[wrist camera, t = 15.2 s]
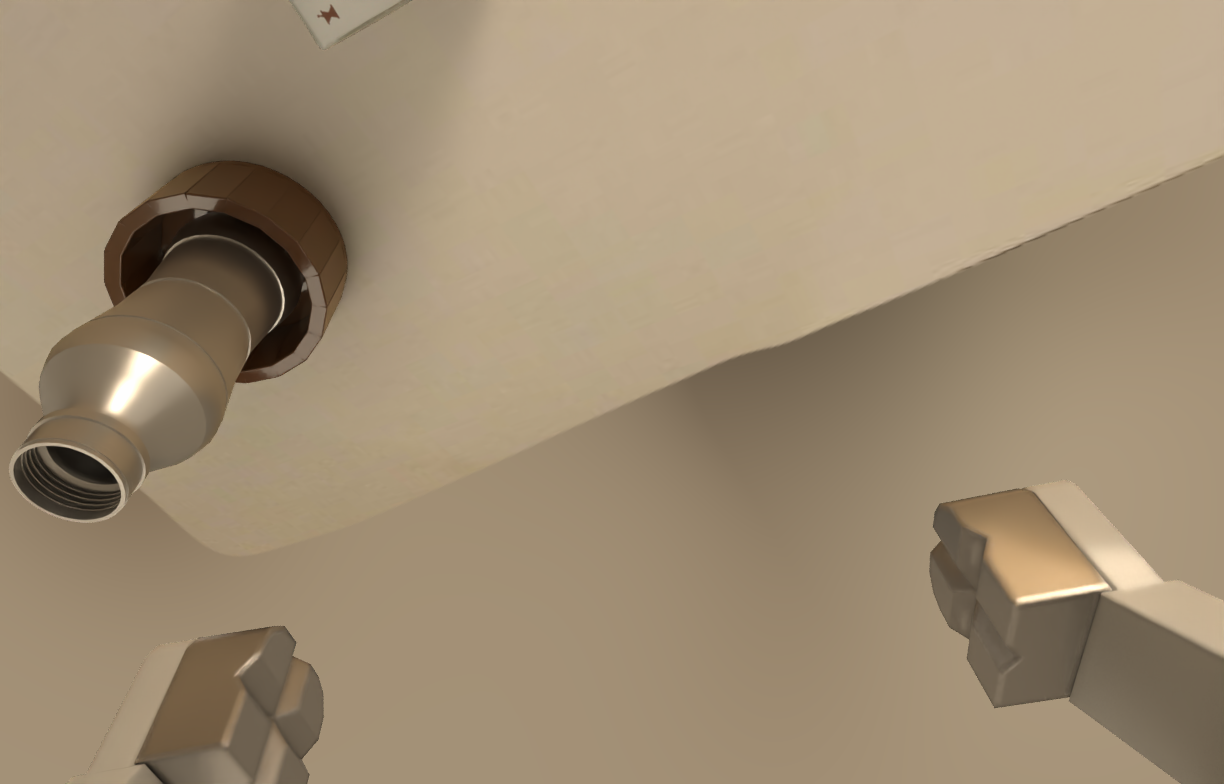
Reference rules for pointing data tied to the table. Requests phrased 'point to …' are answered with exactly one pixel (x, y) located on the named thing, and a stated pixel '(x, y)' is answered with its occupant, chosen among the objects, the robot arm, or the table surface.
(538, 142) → the table surface
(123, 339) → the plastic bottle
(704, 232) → the table surface
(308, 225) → the cup
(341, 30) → the white packaging box
